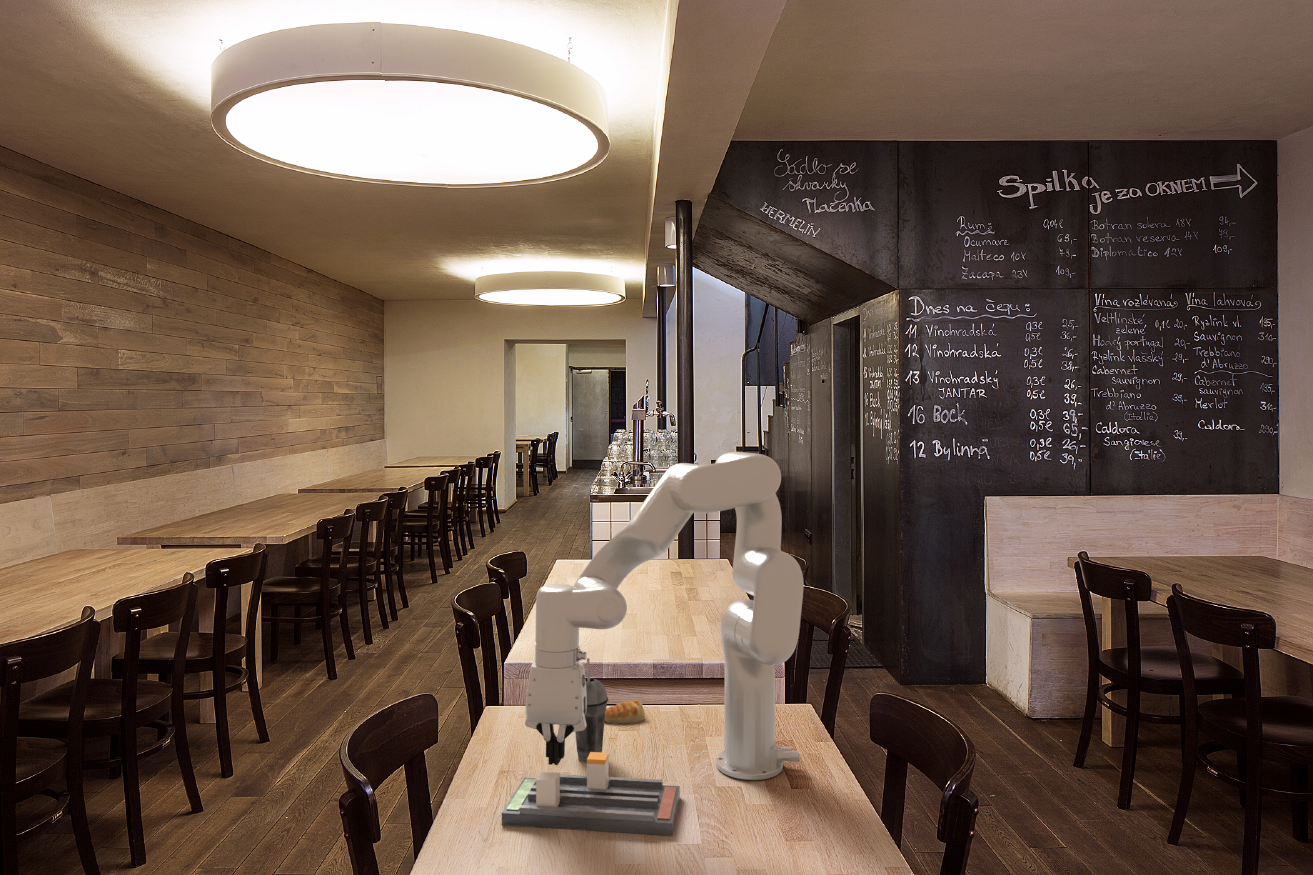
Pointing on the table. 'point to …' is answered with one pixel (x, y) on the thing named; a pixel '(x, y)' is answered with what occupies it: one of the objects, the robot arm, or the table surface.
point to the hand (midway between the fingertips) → (555, 761)
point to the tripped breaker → (597, 771)
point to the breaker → (548, 789)
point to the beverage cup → (592, 718)
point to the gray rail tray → (598, 806)
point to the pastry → (625, 712)
